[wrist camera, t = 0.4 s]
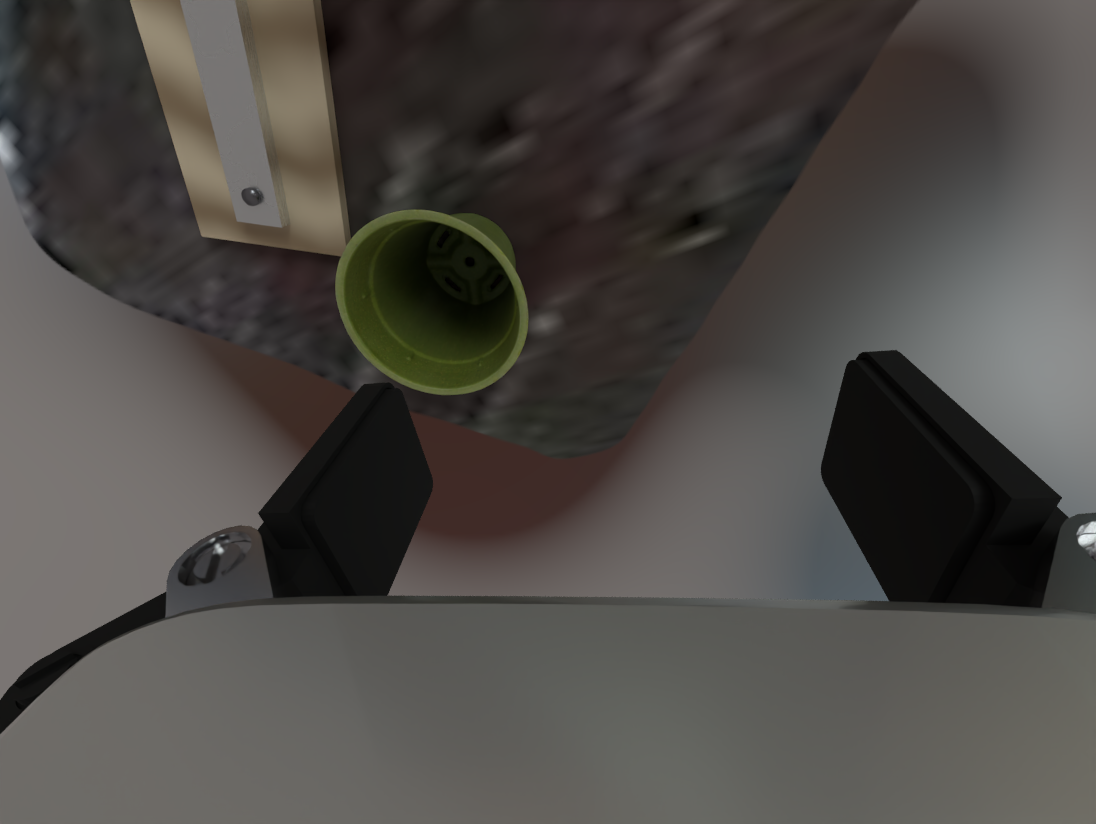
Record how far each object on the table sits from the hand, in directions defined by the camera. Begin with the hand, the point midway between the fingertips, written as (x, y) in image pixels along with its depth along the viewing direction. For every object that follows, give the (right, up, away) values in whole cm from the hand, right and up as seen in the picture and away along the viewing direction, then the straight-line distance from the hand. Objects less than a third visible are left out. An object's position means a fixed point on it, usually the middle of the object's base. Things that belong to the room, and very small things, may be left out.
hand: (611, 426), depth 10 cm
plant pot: (-7, +13, +28) cm, 32 cm away
